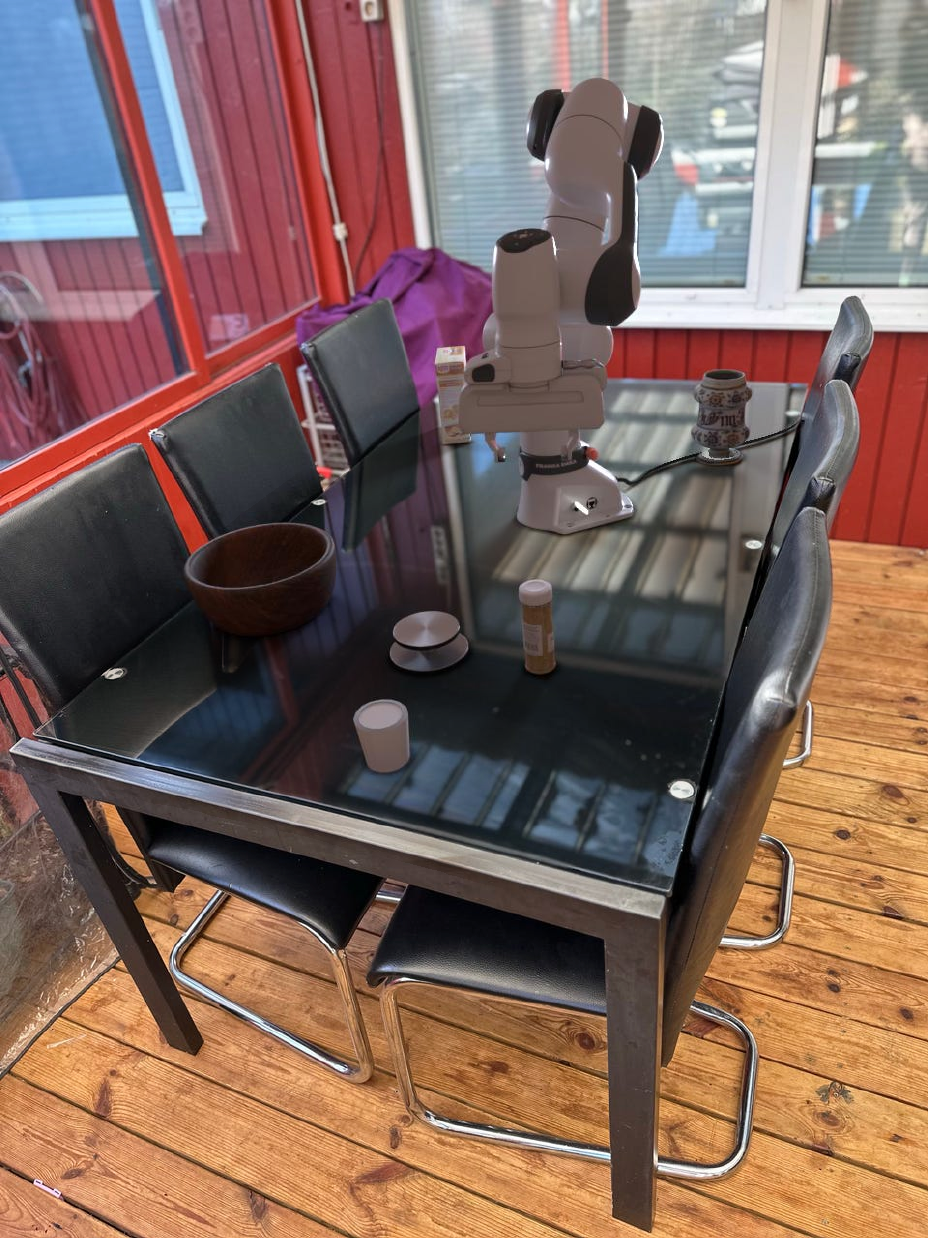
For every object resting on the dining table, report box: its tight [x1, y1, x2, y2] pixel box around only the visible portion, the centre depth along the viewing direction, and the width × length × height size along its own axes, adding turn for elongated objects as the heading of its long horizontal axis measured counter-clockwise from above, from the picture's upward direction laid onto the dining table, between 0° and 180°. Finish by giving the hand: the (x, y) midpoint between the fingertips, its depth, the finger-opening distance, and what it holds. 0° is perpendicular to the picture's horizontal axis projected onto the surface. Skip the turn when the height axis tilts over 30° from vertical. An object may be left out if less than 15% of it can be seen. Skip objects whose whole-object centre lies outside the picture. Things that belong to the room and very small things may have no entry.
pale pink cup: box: [352, 699, 410, 773], centre depth 113 cm, size 7×7×7 cm
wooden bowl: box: [183, 522, 337, 637], centre depth 149 cm, size 25×25×10 cm
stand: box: [389, 610, 470, 676], centre depth 134 cm, size 12×12×4 cm
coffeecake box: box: [434, 345, 472, 445], centre depth 215 cm, size 15×7×20 cm, turn 179°
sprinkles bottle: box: [518, 579, 557, 675], centre depth 126 cm, size 5×5×13 cm
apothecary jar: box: [690, 368, 754, 466], centre depth 186 cm, size 12×12×18 cm
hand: (533, 460), depth 126 cm, fingers open, 8 cm apart
